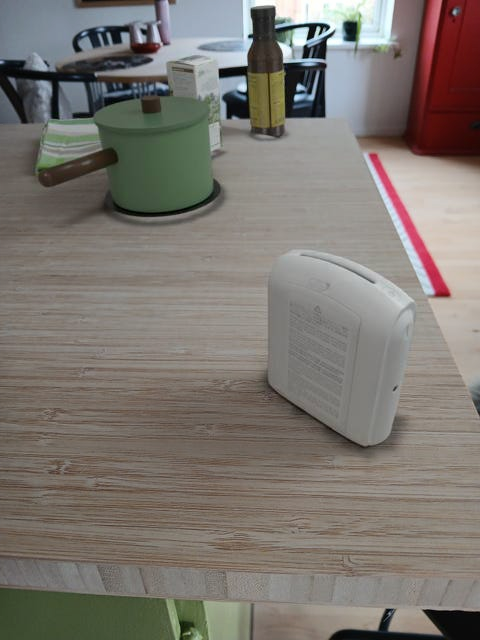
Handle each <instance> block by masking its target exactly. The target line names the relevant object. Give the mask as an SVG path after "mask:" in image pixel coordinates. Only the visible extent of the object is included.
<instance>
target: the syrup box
mask: <svg viewBox="0 0 480 640" xmlns="http://www.w3.org/2000/svg"><path fill="white" fill-rule="evenodd" d="M165 67H166V76H167V86H168V96H171V97H187V98H193V99H198V100H201V101H203V102H206V103H207V104H208V105H209V107H210V114H209V116H208V122H209V135H210V148H211V153H212V152H214V151H216V150H218V149H220V148H222V147H223V135H222V114H221V93H220V91H221V90H220V75H219V72H220V71H219V59H217V58H215V57H212V56H208V55H201V54H192V55H186V56H183V57H179V58H177V59H173V60H169V61H166V63H165Z"/></svg>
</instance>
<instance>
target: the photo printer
mask: <svg viewBox="0 0 480 640" xmlns="http://www.w3.org/2000/svg"><path fill="white" fill-rule="evenodd" d="M417 316H418V305H417V303H416V301H415V300H414V299H413V298H412V297H411V296H410V295H409V294H407V293H406V292H405V291H404V290H403V289H401V288H400V287H399V286H397V284H395V283H393V282H391V281H390V280H388V278H386V277H384V276H383V275H381V274H379V273H377V272H375V271H374V270H371V269H370V268H368V267H366V266H364V265H362V264H359V263H357V262H355V261H353V260H350V259H347V258H344V257H342V256H339V255H336V254H332V253H328V252H324V251H319V250H311V249H290V250H288V252H287V253H284V254H280V255H279V256H278V257H277V259H276V260H275V262H274V264H273V265H272V268H271V270H270V273H269V275H268V280H267V381H268V384H269V386H270V387H271V388H272V389H274V391H275V392H276V393H278V394H279V395H281V396H282V397H284V398H285V399H286V400H288V401H289V402H290V403H292V404H294V405H295V406H297V407H298V408H300V409H301V410H303V411H305V412H306V413H307V414H309V415H310V416H312V417H313V418H315V419H317V420H318V421H320V422H321V423H323V424H324V425H325V426H327V427H329V428H331V429H332V430H333V431H335V432H336V433H338V434H340V435H342V436H343V437H345V438H347V439H348V440H350V441H352V442H353V443H356V444H358V445H360V446H362V447H367V446H371V447H372V446H376V445H379V444H381V443H383V442H384V441H386V440H387V438H388V437H389V436H390V434H391V432H392V429H393V425H394V424H393V423H394V419H395V417H396V413H397V409H398V406H399V402H400V396H401V392H402V388H403V382H404V378H405V373H406V368H407V364H408V360H409V354H410V349H411V345H412V340H413V337H414V336H413V335H414V332H415V326H416V321H417Z"/></svg>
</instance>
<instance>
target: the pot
mask: <svg viewBox="0 0 480 640" xmlns="http://www.w3.org/2000/svg"><path fill="white" fill-rule="evenodd" d="M209 114H210V107H209V105H208V104H207V103H206V102H203V101H201V100H198V99H193V98H187V97H171V96H169V95H168V96H159V95H157V94H153V95H152V94H151V95H150V94H149V95H144V96H141V97H140V98H134V99H133V98H132V99H129V100H124V101H120V102H115V103H113V104H110V105H106V106H105V107H102V108H101V109H99V110H97V111H96V112H94V114H93V116H92V118H93V120H94V123H95V125H96V126H97V127H98V132H99V137H100V141H101V146H102V150H101V151H98V152H95V153H92V154H89V155H86V156H83V157H80V158H77V159H74V160H71V161H68V162H65V163H62V164H59V165H56V166H53V167H50V168H47V169H44V170H42V171H41V172H40V173H39V175H38V176H37V181H38V182H39V184H40V185H41V186H42V187H44V188H53V187H55V186H59V185H62V184H63V183H66V182H69V181H72V180H75V179H78V178H80V177H83V176H86V175H89V174H91V173H94V172H98V171H100V170H103V169H105V170H106V175H107V180H108V181H107V182H108V185H109V190H111V195H112V199H113V201H114V202H115V203H116V204H117V205H118V206H120V207H122V208H124V209H127V210H132V211H137V212H167V211H174V210H179V209H183V208H187V207H190V206H193V205H195V204H197V203H200V202H201V201H203V200H205V199H206V198H207V197H209V196H210V195H211V193H212V191H213V188H214V186H213V178H214V176H213V162H212V152H211V148H210V135H209V122H208V116H209Z"/></svg>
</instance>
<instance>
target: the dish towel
mask: <svg viewBox="0 0 480 640" xmlns="http://www.w3.org/2000/svg"><path fill="white" fill-rule="evenodd" d="M101 150H102V146H101V141H100V137H99V132H98V127H97V126H96V125H95V123H94V120H93V117H88V118H72V119H56V118H47V120H46V124H45V125H44V126H43V128H42V135H41V138H40V141H39V150H38V153H37V159H36V165H35V171H34V176H35V177H36V176H37V177H38V175H39V173H40V172H41V171H42V170H44V169H47V168H50V167H53V166H56V165H59V164H62V163H65V162H68V161H71V160H74V159H77V158H80V157H83V156H86V155H89V154H92V153H95V152H98V151H101Z"/></svg>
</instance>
